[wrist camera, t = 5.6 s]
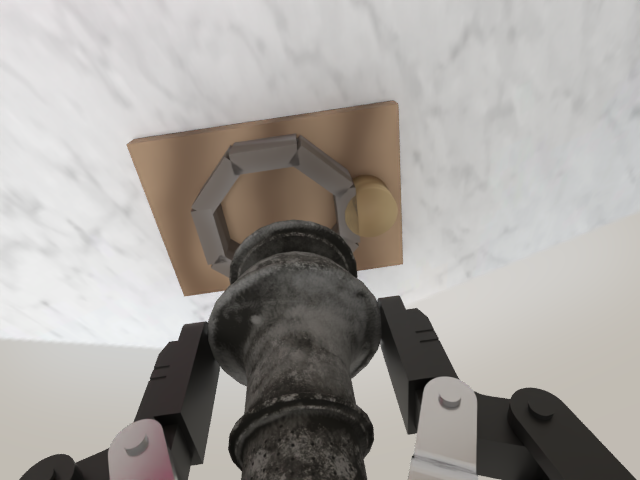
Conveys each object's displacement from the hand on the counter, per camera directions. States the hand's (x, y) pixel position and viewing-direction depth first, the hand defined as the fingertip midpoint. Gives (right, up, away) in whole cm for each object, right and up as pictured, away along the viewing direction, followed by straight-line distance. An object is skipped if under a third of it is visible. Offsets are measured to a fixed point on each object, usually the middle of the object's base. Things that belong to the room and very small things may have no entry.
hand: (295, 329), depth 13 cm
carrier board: (-3, +6, +19) cm, 21 cm away
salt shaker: (0, +2, +3) cm, 3 cm away
